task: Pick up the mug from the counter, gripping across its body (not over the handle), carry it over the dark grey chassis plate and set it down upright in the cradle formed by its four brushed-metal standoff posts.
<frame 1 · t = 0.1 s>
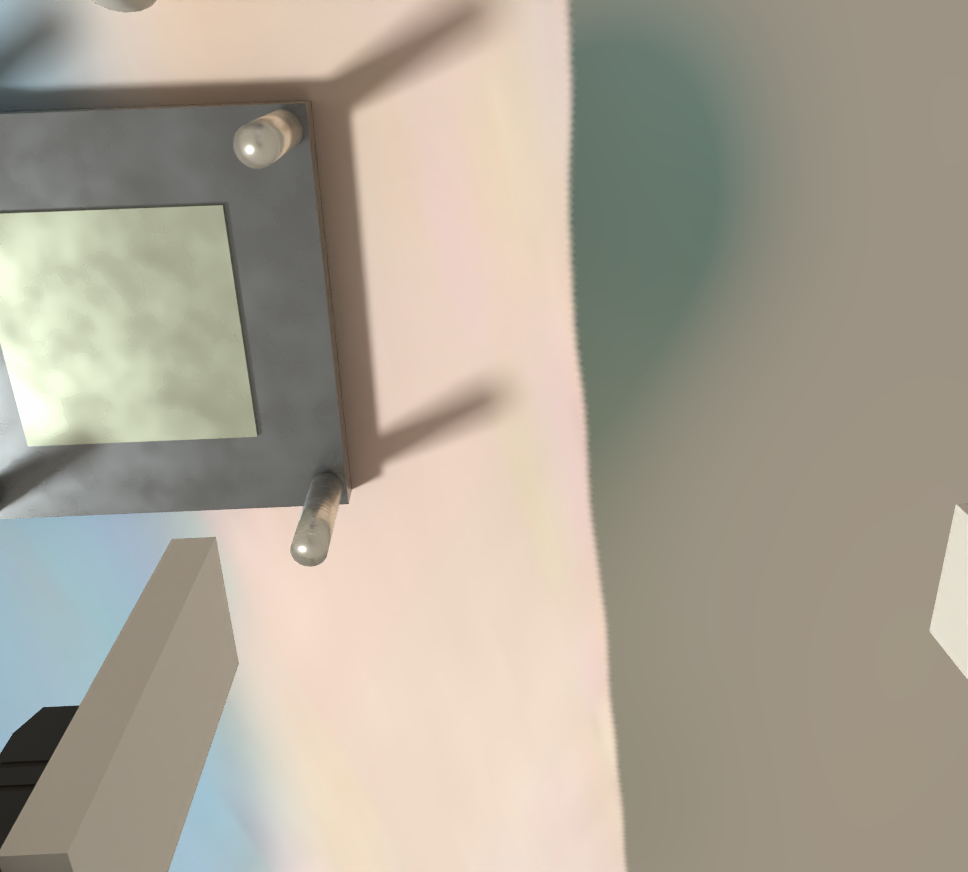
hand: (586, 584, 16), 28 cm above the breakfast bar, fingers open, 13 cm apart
chassis: (132, 321, 42), on the breakfast bar
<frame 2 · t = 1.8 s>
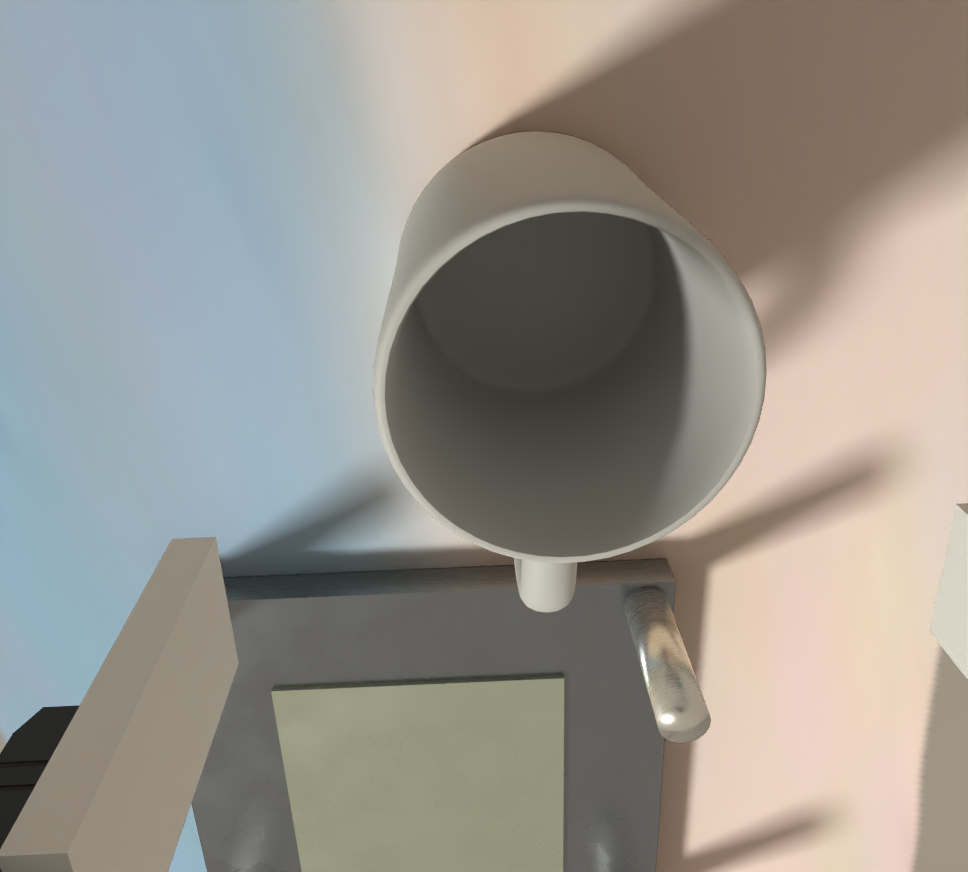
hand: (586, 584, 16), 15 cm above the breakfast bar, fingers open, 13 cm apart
mug: (529, 318, 30), on the breakfast bar
chassis: (428, 761, 37), on the breakfast bar
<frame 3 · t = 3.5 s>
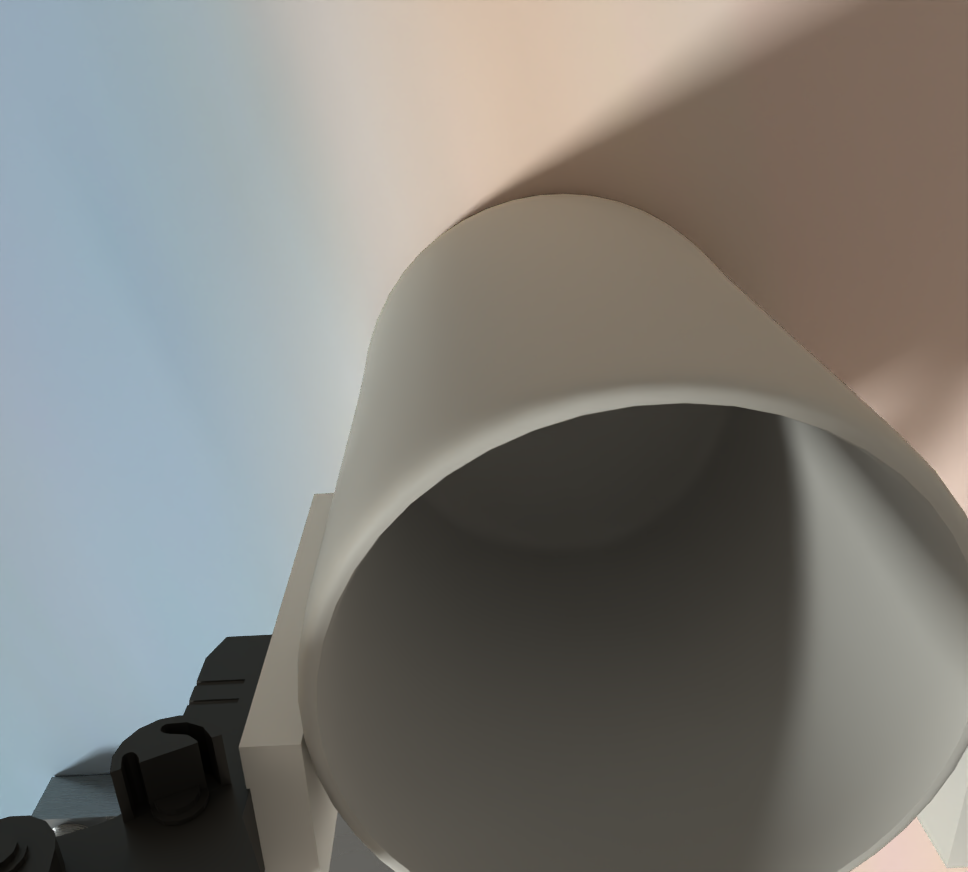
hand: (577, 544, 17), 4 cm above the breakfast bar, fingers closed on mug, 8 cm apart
mug: (550, 444, 22), on the breakfast bar, touching gripper
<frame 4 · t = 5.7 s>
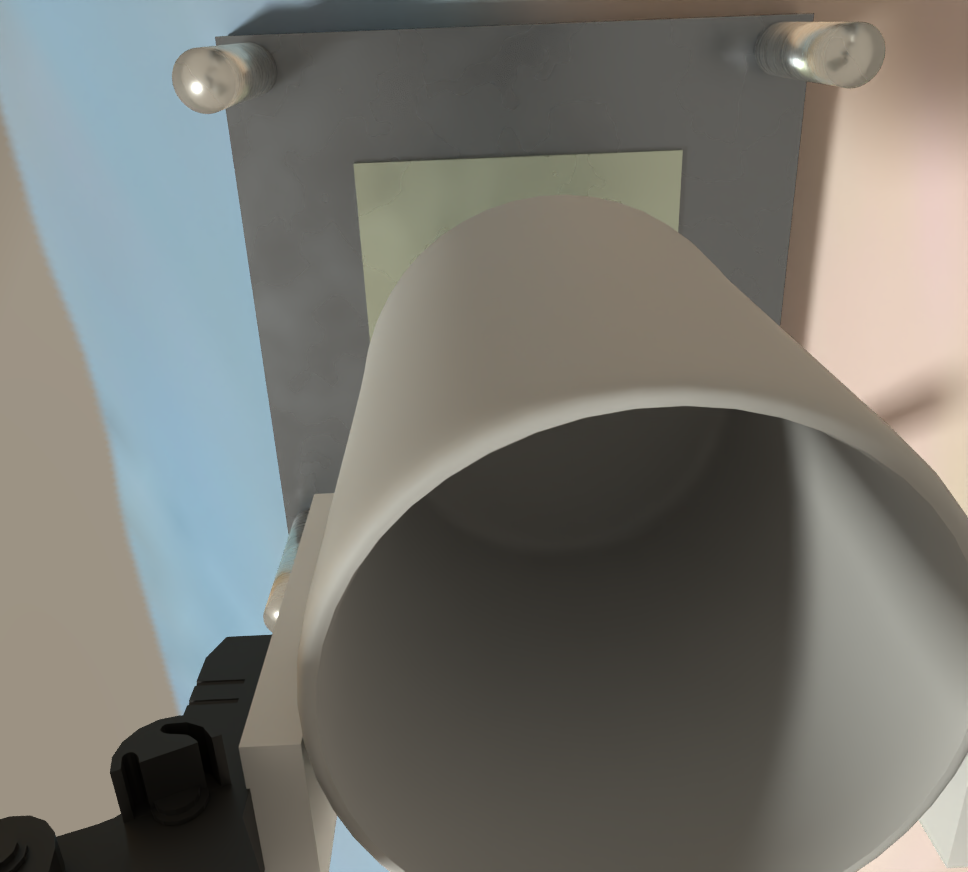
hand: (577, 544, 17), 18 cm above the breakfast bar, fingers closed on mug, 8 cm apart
mug: (550, 445, 21), point 13 cm above the breakfast bar, touching gripper
chassis: (518, 302, 34), on the breakfast bar
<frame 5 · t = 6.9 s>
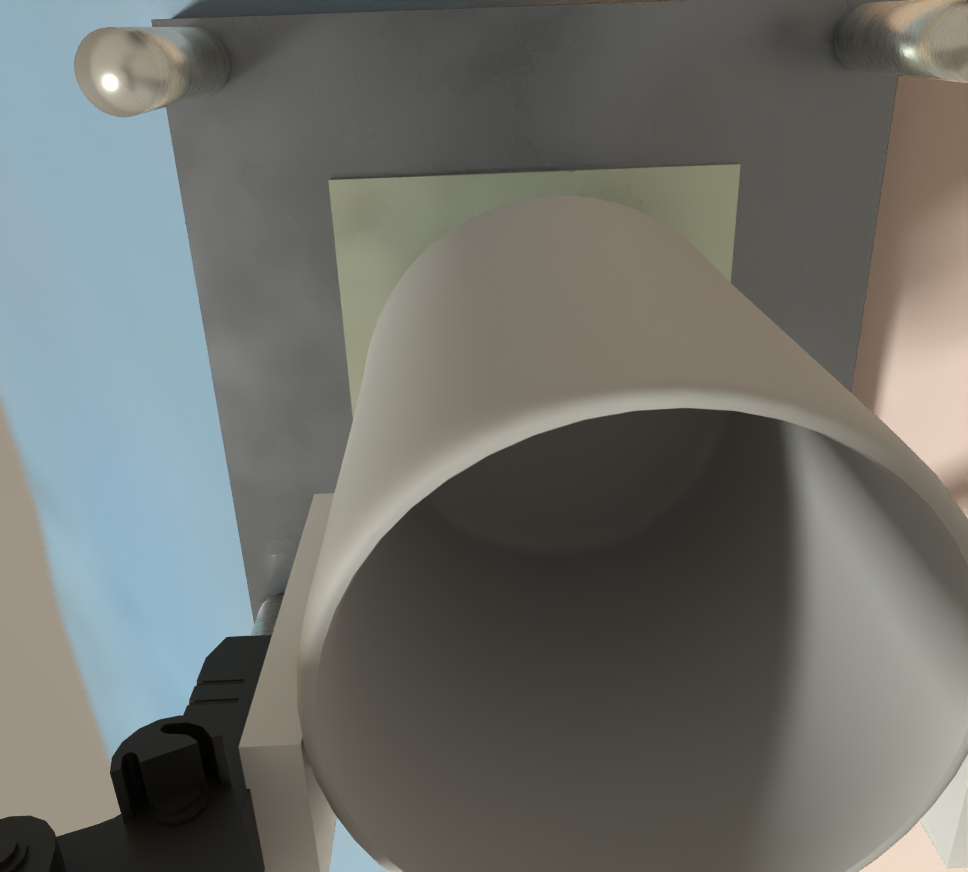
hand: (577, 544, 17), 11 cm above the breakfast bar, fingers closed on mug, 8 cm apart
mug: (550, 446, 21), point 7 cm above the breakfast bar, touching gripper
chassis: (532, 347, 28), on the breakfast bar
when the fingers open (7 cm above the breakfast bar, at t = 8.1 s): mug drops 1 cm, resting on chassis.
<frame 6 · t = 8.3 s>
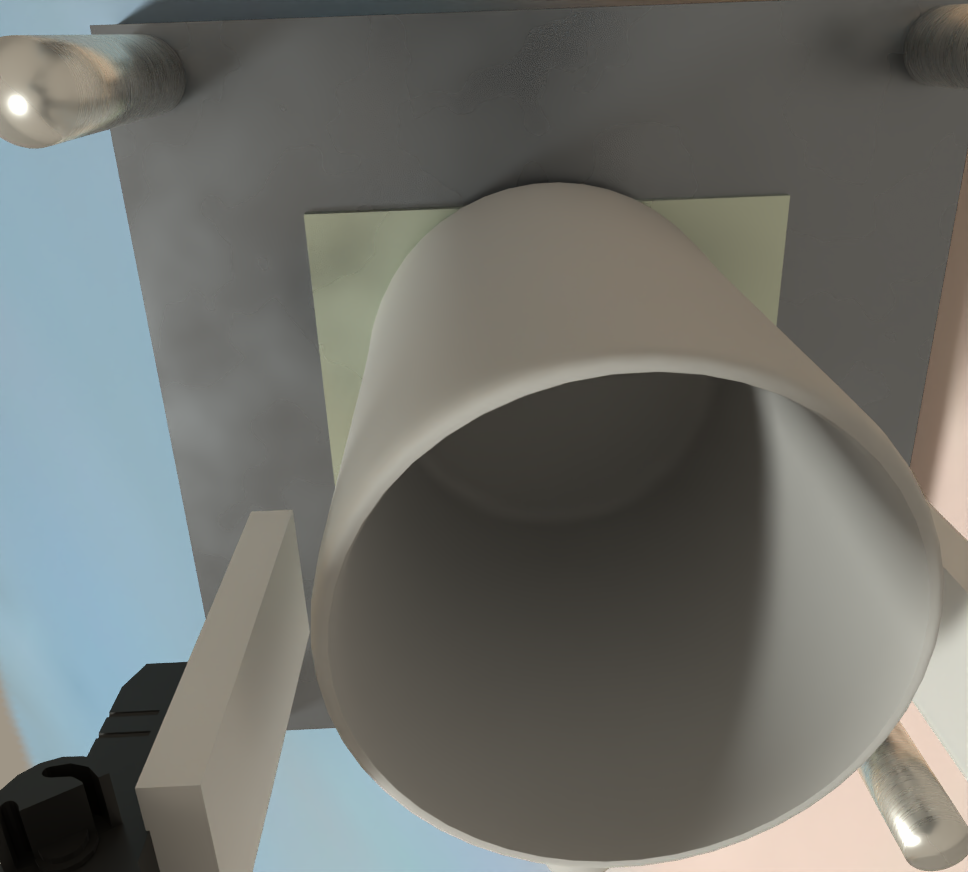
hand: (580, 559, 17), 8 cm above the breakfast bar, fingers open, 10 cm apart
mug: (545, 421, 23), point 2 cm above the breakfast bar, touching chassis
chassis: (542, 402, 24), on the breakfast bar
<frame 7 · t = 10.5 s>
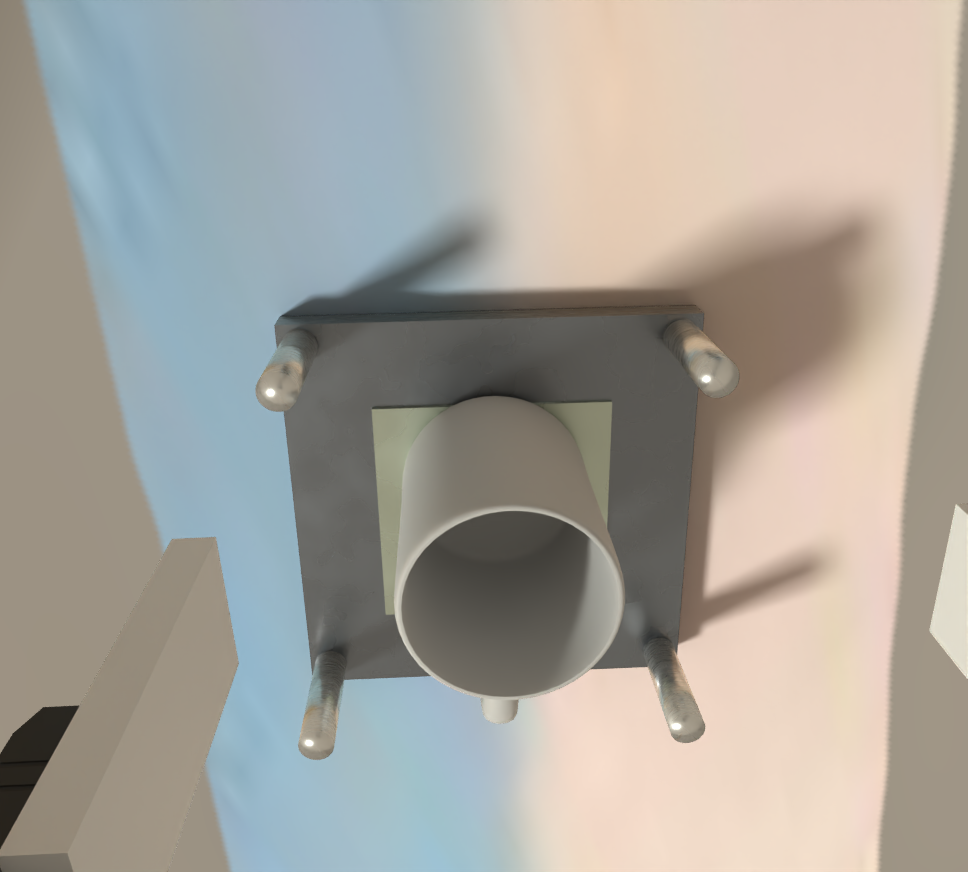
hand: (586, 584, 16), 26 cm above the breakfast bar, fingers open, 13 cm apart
mug: (492, 509, 43), point 2 cm above the breakfast bar, touching chassis
chassis: (492, 497, 45), on the breakfast bar
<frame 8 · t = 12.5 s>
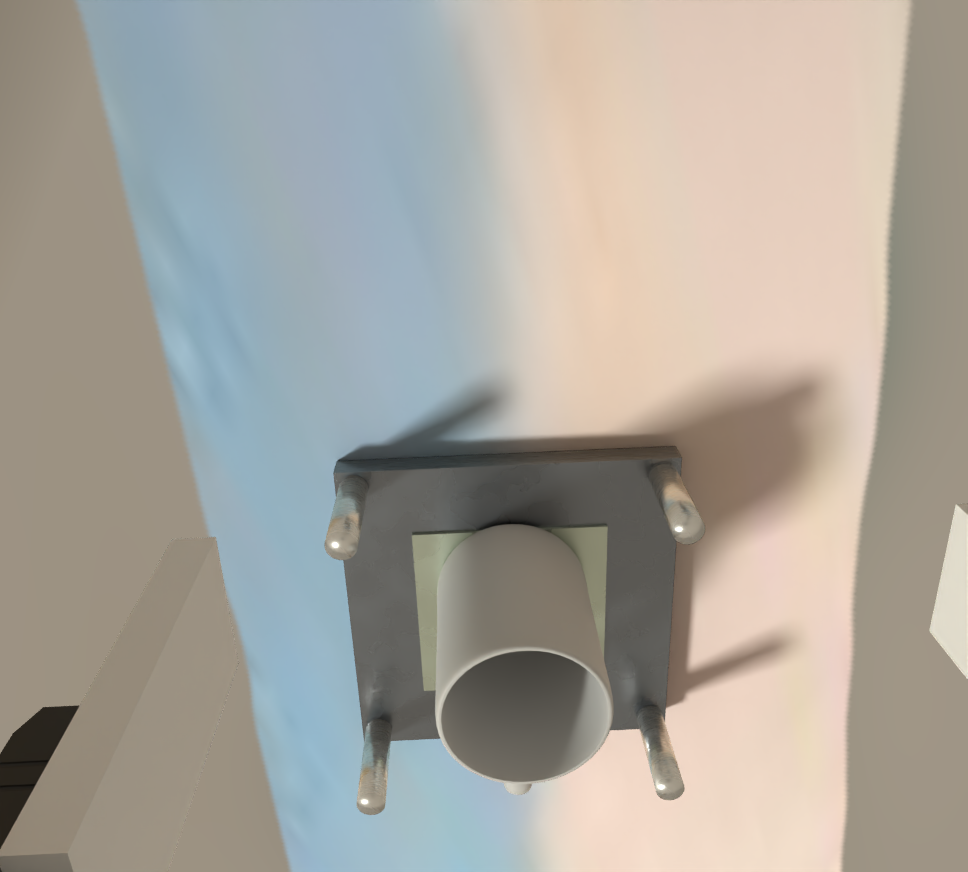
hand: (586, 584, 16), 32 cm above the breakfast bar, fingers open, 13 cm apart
mug: (510, 608, 53), point 2 cm above the breakfast bar, touching chassis
chassis: (510, 595, 54), on the breakfast bar
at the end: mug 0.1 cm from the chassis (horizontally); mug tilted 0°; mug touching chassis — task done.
